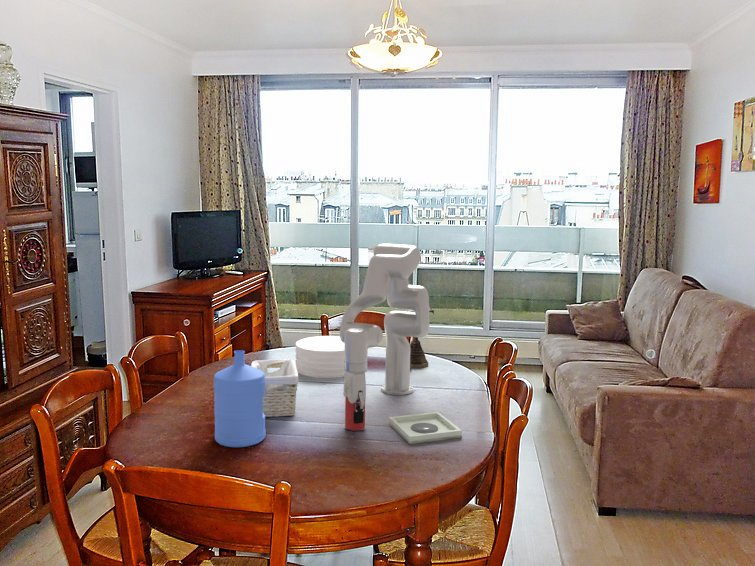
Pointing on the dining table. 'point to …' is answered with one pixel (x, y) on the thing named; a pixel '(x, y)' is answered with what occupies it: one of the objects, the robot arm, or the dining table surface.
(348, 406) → the beer can
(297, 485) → the dining table surface
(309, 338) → the plate stack
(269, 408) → the storage basket
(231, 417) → the water jug
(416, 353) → the bird statue
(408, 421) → the coaster tray
